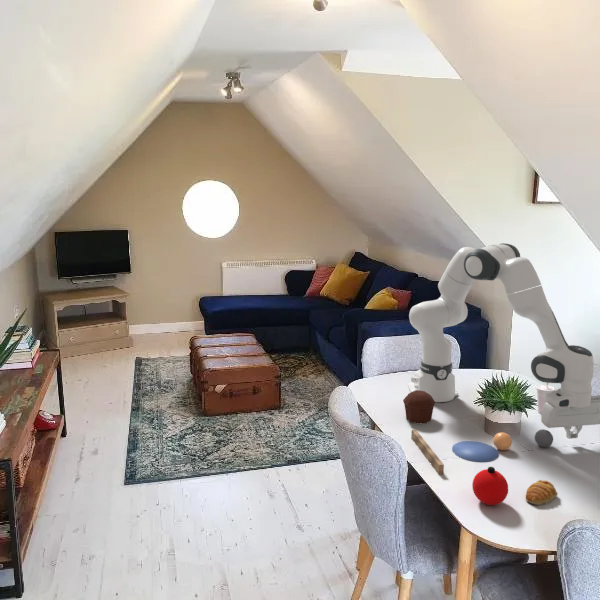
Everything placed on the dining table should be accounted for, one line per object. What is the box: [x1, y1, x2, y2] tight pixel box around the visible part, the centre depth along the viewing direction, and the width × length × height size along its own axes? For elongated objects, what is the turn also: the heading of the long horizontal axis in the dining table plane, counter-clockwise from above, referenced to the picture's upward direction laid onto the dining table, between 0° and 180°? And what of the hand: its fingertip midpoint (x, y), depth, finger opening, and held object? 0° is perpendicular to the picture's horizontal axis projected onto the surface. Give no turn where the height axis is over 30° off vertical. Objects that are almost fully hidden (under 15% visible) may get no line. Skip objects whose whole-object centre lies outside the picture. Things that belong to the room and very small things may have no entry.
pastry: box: [525, 479, 558, 506], centre depth 151 cm, size 9×7×4 cm
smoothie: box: [535, 383, 556, 415], centre depth 205 cm, size 6×6×14 cm
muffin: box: [402, 390, 436, 425], centre depth 202 cm, size 12×11×10 cm
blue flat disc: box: [451, 440, 499, 463], centre depth 178 cm, size 14×14×1 cm
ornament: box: [471, 466, 509, 506], centre depth 148 cm, size 9×9×10 cm
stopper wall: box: [410, 429, 445, 475], centre depth 175 cm, size 24×2×3 cm, turn 8°
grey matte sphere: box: [534, 429, 554, 448], centre depth 180 cm, size 6×6×6 cm
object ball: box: [492, 431, 513, 451], centre depth 178 cm, size 6×6×6 cm
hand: (571, 437), depth 181 cm, fingers closed
